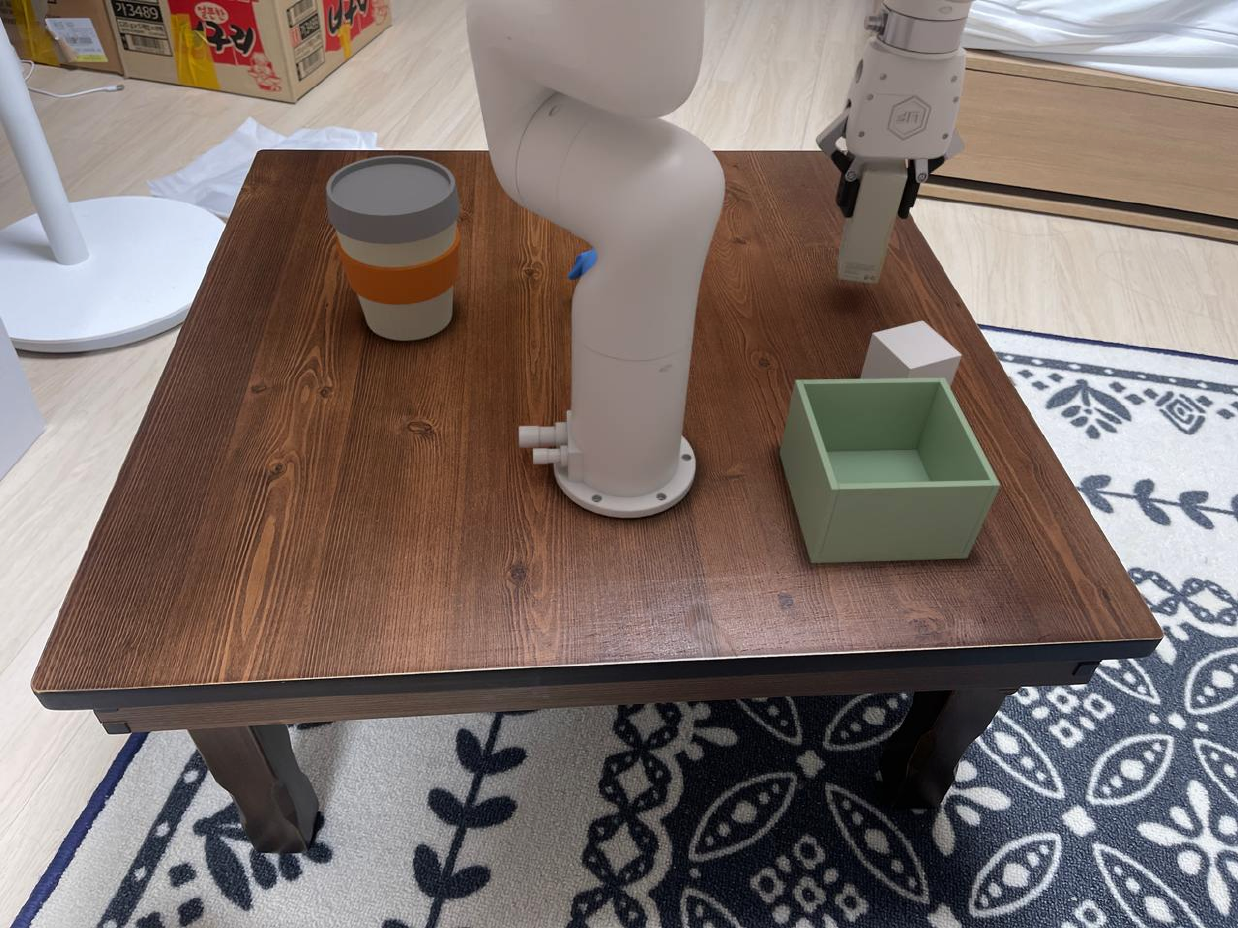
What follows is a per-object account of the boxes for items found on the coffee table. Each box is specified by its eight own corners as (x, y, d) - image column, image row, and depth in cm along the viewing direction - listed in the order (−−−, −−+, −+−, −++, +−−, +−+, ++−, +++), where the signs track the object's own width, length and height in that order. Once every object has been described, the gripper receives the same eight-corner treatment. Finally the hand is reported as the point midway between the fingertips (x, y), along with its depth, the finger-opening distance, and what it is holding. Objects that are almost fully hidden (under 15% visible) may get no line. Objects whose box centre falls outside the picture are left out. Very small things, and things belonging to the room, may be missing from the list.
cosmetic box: (877, 286, 99) (909, 179, 91) (835, 280, 100) (864, 172, 91) (876, 257, 104) (906, 152, 96) (836, 251, 104) (863, 146, 96)
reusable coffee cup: (324, 314, 98) (296, 182, 88) (419, 270, 105) (403, 142, 95) (398, 367, 92) (377, 232, 82) (493, 316, 99) (485, 185, 89)
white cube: (907, 368, 96) (923, 320, 91) (944, 404, 92) (962, 354, 88) (858, 382, 94) (872, 333, 90) (894, 418, 90) (910, 368, 86)
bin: (810, 563, 76) (831, 489, 70) (779, 453, 86) (795, 379, 80) (967, 558, 77) (1000, 485, 71) (918, 450, 87) (944, 377, 81)
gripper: (838, 40, 81) (799, 229, 94) (1025, 47, 83) (963, 231, 95) (819, 12, 87) (784, 194, 99) (994, 19, 88) (939, 197, 101)
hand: (872, 210), depth 97 cm, fingers closed on cosmetic box, 5 cm apart
